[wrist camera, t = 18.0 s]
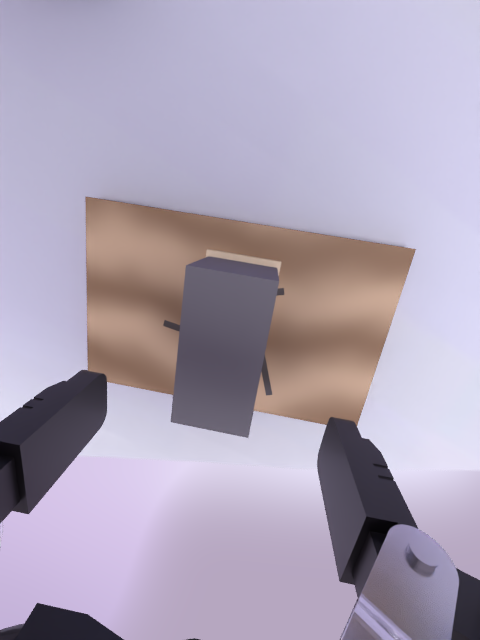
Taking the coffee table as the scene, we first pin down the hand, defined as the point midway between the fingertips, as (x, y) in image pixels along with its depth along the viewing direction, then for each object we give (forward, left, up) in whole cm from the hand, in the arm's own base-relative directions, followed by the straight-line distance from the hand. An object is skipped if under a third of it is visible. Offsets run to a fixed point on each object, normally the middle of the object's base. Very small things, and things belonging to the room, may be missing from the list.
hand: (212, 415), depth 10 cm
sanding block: (0, -1, -11) cm, 11 cm away
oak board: (0, -1, -13) cm, 13 cm away
